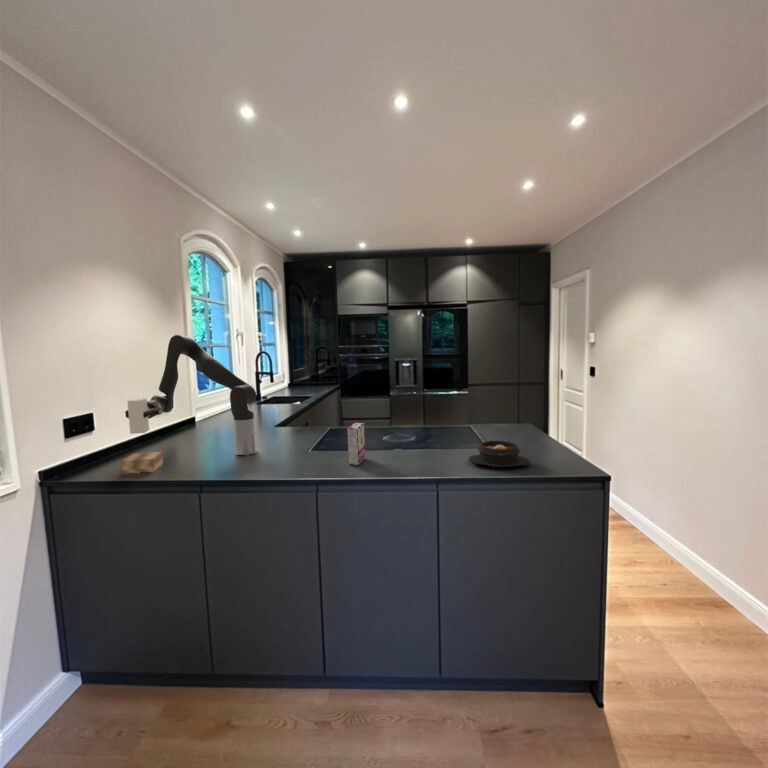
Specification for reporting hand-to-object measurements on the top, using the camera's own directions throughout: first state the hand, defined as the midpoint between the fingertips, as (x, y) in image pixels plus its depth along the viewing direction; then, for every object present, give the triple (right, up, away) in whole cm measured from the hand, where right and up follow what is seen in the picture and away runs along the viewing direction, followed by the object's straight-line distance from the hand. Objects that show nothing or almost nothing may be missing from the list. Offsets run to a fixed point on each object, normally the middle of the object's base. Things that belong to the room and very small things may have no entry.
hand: (136, 415), depth 169 cm
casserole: (+153, -21, 0) cm, 154 cm away
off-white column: (0, -7, +3) cm, 8 cm away
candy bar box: (+93, -21, +8) cm, 95 cm away
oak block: (0, -24, +5) cm, 24 cm away
